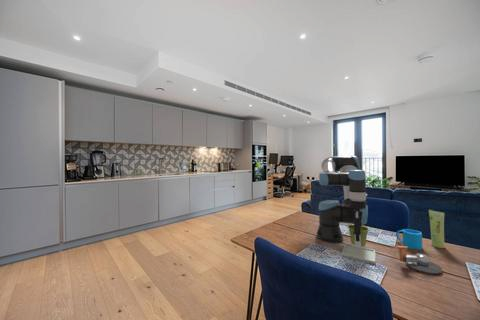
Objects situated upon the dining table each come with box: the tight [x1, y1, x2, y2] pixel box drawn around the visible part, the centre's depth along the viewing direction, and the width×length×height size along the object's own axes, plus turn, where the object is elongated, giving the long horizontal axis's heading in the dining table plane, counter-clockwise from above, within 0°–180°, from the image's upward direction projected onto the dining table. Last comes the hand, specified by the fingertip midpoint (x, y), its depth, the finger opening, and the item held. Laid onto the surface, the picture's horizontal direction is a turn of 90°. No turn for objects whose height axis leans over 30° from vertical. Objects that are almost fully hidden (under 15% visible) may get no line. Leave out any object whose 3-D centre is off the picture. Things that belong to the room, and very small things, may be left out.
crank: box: [396, 245, 430, 266], centre depth 87 cm, size 12×4×7 cm, turn 82°
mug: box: [395, 228, 423, 250], centre depth 109 cm, size 12×8×8 cm
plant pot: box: [346, 224, 370, 248], centre depth 99 cm, size 9×9×9 cm
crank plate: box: [404, 260, 443, 276], centre depth 87 cm, size 12×12×1 cm
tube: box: [428, 209, 445, 249], centre depth 107 cm, size 6×5×20 cm
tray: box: [341, 243, 376, 265], centre depth 99 cm, size 14×14×1 cm
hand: (358, 243), depth 99 cm, fingers closed on plant pot, 8 cm apart
